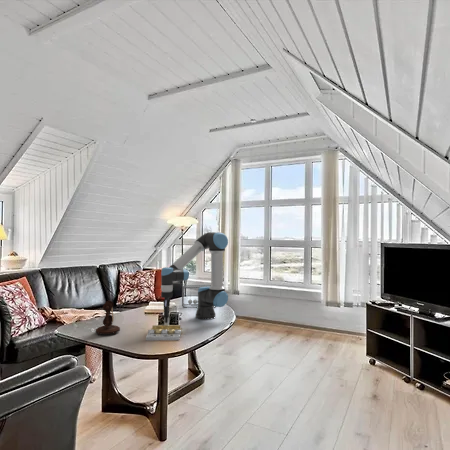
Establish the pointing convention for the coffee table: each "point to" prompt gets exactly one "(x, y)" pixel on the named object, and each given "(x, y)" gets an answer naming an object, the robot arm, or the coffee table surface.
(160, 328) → the brass leaf
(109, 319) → the dark wooden figurine
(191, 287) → the newton's cradle
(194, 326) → the coffee table surface
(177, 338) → the steel leaf
